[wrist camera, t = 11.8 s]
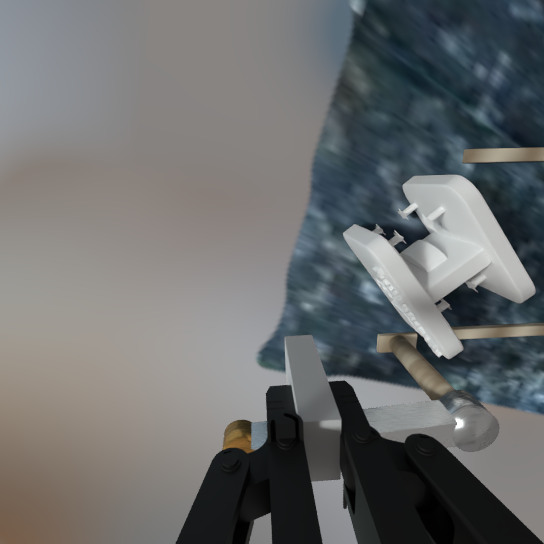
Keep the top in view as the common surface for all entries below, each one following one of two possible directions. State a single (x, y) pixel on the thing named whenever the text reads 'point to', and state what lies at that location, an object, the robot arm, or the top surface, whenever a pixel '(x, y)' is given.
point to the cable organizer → (441, 257)
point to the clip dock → (406, 342)
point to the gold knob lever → (403, 424)
